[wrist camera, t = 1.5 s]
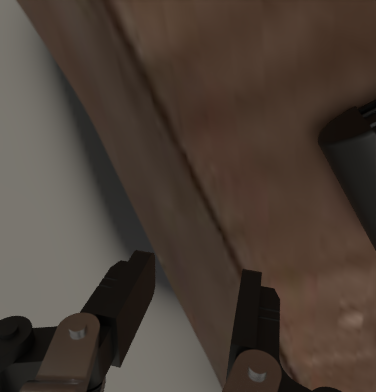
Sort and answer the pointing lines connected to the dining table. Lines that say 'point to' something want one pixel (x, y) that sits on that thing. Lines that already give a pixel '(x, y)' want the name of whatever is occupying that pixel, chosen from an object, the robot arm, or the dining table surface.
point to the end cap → (355, 160)
